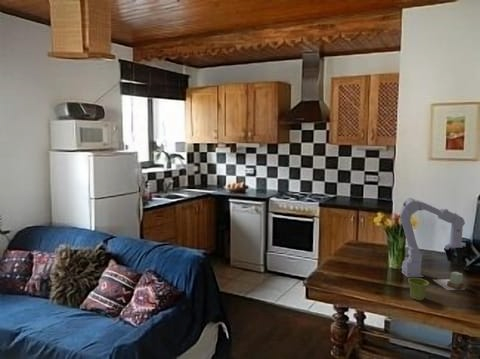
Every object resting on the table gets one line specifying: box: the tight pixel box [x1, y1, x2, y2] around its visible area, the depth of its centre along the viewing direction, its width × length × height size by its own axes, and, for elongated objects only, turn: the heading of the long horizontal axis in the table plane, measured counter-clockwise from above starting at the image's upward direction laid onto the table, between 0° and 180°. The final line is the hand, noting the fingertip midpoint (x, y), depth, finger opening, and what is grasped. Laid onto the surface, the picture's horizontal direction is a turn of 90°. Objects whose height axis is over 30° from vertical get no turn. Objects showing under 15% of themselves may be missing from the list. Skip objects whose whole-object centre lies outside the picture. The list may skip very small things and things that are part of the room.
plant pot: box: [407, 277, 430, 301], centre depth 197 cm, size 9×9×9 cm
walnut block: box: [447, 281, 466, 291], centre depth 210 cm, size 6×6×2 cm
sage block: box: [449, 271, 464, 284], centre depth 209 cm, size 4×4×5 cm
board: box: [432, 278, 466, 291], centre depth 213 cm, size 10×14×1 cm
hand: (454, 260), depth 223 cm, fingers open, 7 cm apart
